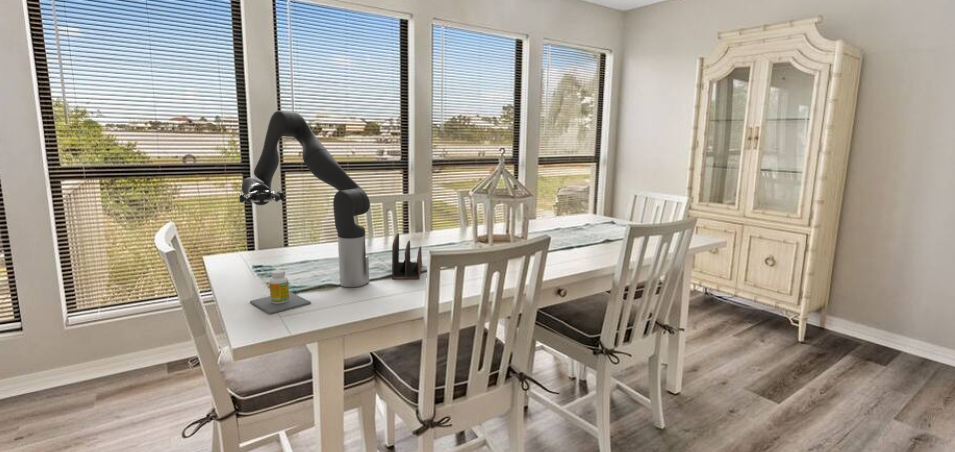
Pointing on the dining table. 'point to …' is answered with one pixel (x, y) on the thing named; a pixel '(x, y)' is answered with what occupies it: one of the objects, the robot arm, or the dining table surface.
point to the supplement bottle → (279, 287)
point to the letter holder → (405, 262)
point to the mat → (274, 308)
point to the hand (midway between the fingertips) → (263, 199)
